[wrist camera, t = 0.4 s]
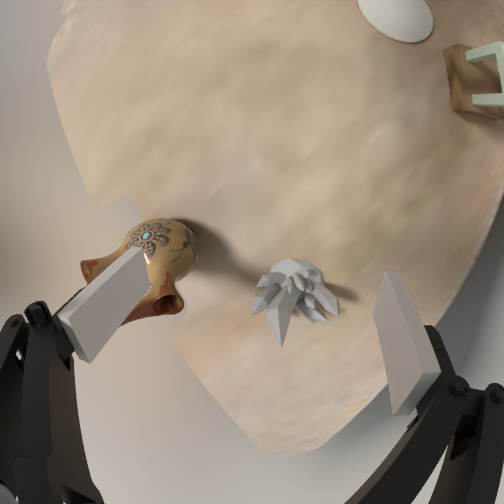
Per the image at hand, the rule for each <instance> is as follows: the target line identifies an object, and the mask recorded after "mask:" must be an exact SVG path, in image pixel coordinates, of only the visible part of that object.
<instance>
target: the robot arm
mask: <svg viewBox="0 0 504 504" xmlns="http://www.w3.org/2000/svg"><path fill="white" fill-rule="evenodd" d="M150 288H151V286H150V281H149V277H148V272H147V267H146V262H145V257H144V251H143V248H142V247H131V248H130V249H129V250H127V251H126V252H125V253H124V254H123V255H122V256H120V257H119V258H118V259H117V260H116V261H115V262H113V263H112V264H111V265H110V266H109V267H108V268H106V269H105V270H104V271H103V272H102V273H101V274H100V275H99V276H97V277H96V278H95V279H94V280H93V281H92V282H91V283H90V284H89V285H87V286H86V287H84V288H82V289H80V290H79V291H78V292H77V293H76V294H75V295H74V296H73V297H72V298H70V299H69V301H68V302H66V303H65V304H64V305H63V306H62V307H61V308H60V309H59V310H58V311H57V312H56V313H55V314H54V315H53V316H51V313H50V311H49V309H48V307H47V304H46V303H45V302H44V301H36V302H34V303H32V304H30V305H29V306H28V307H27V308H26V309H25V311H24V313H25V315H26V317H27V319H28V321H29V323H26V321H25V319H24V317H23V316H22V315H21V314H16V315H13V316H11V317H10V318H9V319H8V320H7V321H6V322H5V324H4V326H3V328H2V330H1V332H0V504H63V502H65V503H66V504H104V501H103V498H102V496H101V494H100V492H99V490H98V489H97V488H96V486H95V485H94V483H93V482H92V479H91V476H90V472H89V469H88V464H87V460H86V455H85V451H84V446H83V441H82V435H81V429H80V423H79V416H78V408H77V399H76V389H75V376H74V360H73V357H72V355H71V354H72V353H73V352H74V351H75V352H76V354H77V355H78V357H79V359H81V360H83V361H85V362H87V363H91V362H92V361H93V360H94V358H95V357H96V356H97V354H98V353H99V352H100V350H101V349H102V348H103V347H104V345H105V344H106V343H107V341H108V340H109V339H110V338H111V336H112V335H113V334H114V332H115V331H116V330H117V329H118V327H119V326H120V325H121V324H122V322H123V321H124V320H125V319H126V317H127V316H128V315H129V314H130V313H131V311H132V310H133V309H134V308H135V306H136V305H137V304H138V303H139V302H140V300H141V299H142V298H143V297H144V295H145V294H146V293H147V292H148V291H149V290H150ZM373 315H374V319H375V323H376V327H377V331H378V336H379V340H380V344H381V349H382V354H383V359H384V364H385V369H386V374H387V380H388V385H389V391H390V397H391V404H392V410H393V416H398V415H409V414H410V413H411V412H412V411H413V410H414V408H415V407H416V409H417V414H418V415H417V416H416V417H415V418H414V419H413V420H412V422H411V423H410V424H409V425H408V426H407V428H408V429H407V430H406V432H405V433H404V434H403V436H402V437H401V439H400V440H399V442H398V443H397V444H396V445H395V447H394V448H393V449H392V451H391V452H390V453H389V455H388V456H387V457H386V459H385V460H384V461H383V462H382V464H381V465H380V466H379V467H378V468H377V469H376V471H375V472H374V473H373V474H372V475H371V476H370V477H369V479H368V480H367V481H366V482H365V483H364V484H363V485H362V486H361V487H360V489H358V491H357V492H355V494H354V495H353V496H352V497H351V498H350V499H349V500H348V501H346V502H345V504H411V503H412V502H413V500H414V499H415V498H416V496H417V494H418V493H419V492H420V490H421V489H422V487H423V486H424V484H425V483H426V481H427V480H428V478H429V477H430V475H431V474H432V472H433V470H434V468H435V467H436V465H437V464H438V462H439V460H440V458H441V457H442V455H443V453H444V451H445V449H446V447H447V445H448V448H447V451H446V455H445V459H444V462H443V465H442V469H441V471H440V474H439V477H438V480H437V483H436V486H435V489H434V491H433V494H432V496H431V499H430V501H429V503H428V504H494V503H495V500H496V496H497V492H498V488H499V484H500V479H501V474H502V468H503V463H504V387H503V386H502V385H500V384H498V383H491V384H489V385H488V387H487V388H486V389H485V390H484V391H483V390H477V389H472V388H470V387H469V384H468V383H467V381H466V380H465V379H464V378H462V377H460V376H458V375H456V374H455V371H454V369H453V366H452V363H451V361H450V358H449V356H448V353H447V351H446V350H445V349H446V348H445V346H444V344H443V341H442V339H441V336H440V334H439V333H438V332H437V330H436V329H435V328H434V327H433V326H432V325H423V322H422V320H421V318H420V315H419V313H418V311H417V309H416V306H415V304H414V302H413V300H412V298H411V295H410V293H409V291H408V289H407V287H406V285H405V283H404V281H403V279H402V277H401V275H400V273H399V271H391V270H385V274H384V277H383V281H382V285H381V288H380V292H379V295H378V298H377V302H376V305H375V308H374V311H373ZM17 350H18V352H19V353H20V355H21V356H22V357H21V359H20V360H19V359H18V357H17V356H16V352H17ZM16 496H18V501H19V502H18V501H16Z"/></svg>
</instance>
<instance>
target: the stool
mask: <svg viewBox="0 0 504 504" xmlns="http://www.w3.org/2000/svg"><path fill="white" fill-rule="evenodd" d="M465 55H466V60H467V61H470V62H479V61H483V60H487V59H492V58H497V62H498V63H497V67H498V71H499V73H500V79H501V86H502V93H495V94H473V95H472V101H473V104H474V105H478V106H500V107H503V113H504V43H503V42H501V41H497V42H494V43H490V44H487V45H484V46H480V47H477V48H474V49H471V50H468V51H465Z"/></svg>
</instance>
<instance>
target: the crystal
mask: <svg viewBox="0 0 504 504" xmlns="http://www.w3.org/2000/svg"><path fill="white" fill-rule="evenodd" d="M324 286H325V283H324V279H323V275H322V272H321V270H320V269H318V268H317V267H316V266H315V265H314V264H313V263H311V262H310V261H308V260H300V259H293V258H288V259H285V260H282V261H279V262H278V263H277V264H276V265H274V266H273V267H272V268H271V270H270V273H267V274H264V275H262V277H261V279H260V281H259V282H258V284H257V286H256V287H264V288H263V289H262V290H260V292H259V293H258V294H257V295H256V296H255V297H254V301H253V306H252V311H251V316H253V315H255V314H257V313H258V312H260V311H262V310H264V309H265V308H267V307H268V306H269V307H268V308H267V310H266V312H265V314H266V316H267V319H268V321H269V323H270V325H271V328H272V330H273V332H274V334H275V336H276V338H277V341H278V343H279V345H280V347H282V346H283V342H284V339H285V335H286V332H287V328H288V324H289V321H290V317H291V314H292V311H293V308H294V309H297V308H298V309H299V310H300V311H301V312H302V313H303V315H304V316H305V317H306V318H308V319H309V320H310V321H312V322H313V323H315V322H328V321H329V320H328V319H327V318H326V316H325V315H324V314H323V312H322V311H321V310H320V309H318V308H316V307H315V302H314V301H316V300H317V299H318V300H319V302H320V303H321V304H322V306H323V307H324V308H325V310H327V311H329V312H331V313H332V314H334V315H336V316H338V315H339V302H338V300H337V298H336V297H335V296H334V295H333V294H332V293H331V291H329V290H328V289H327V288H325V287H324Z"/></svg>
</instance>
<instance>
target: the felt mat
mask: <svg viewBox="0 0 504 504" xmlns="http://www.w3.org/2000/svg"><path fill="white" fill-rule="evenodd" d="M358 6H359V9H360V11H361V13H362V15H363V16H364V18H365V19H366V20H367V22H368V23H369V24H370V25H371V26H372V27H374V28H375V29H376V30H377V31H379V32H380V33H382V34H383V35H385V36H387V37H389V38H391V39H394V40H397V41H400V42H406V43H414V42H419V41H421V40H423V39H425V38H426V37H427V36H429V34H430V33H431V31H432V28H433V17H432V14H431V11H430V9H429V7H428V5H427V4H426V3H425V1H424V0H358Z"/></svg>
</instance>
